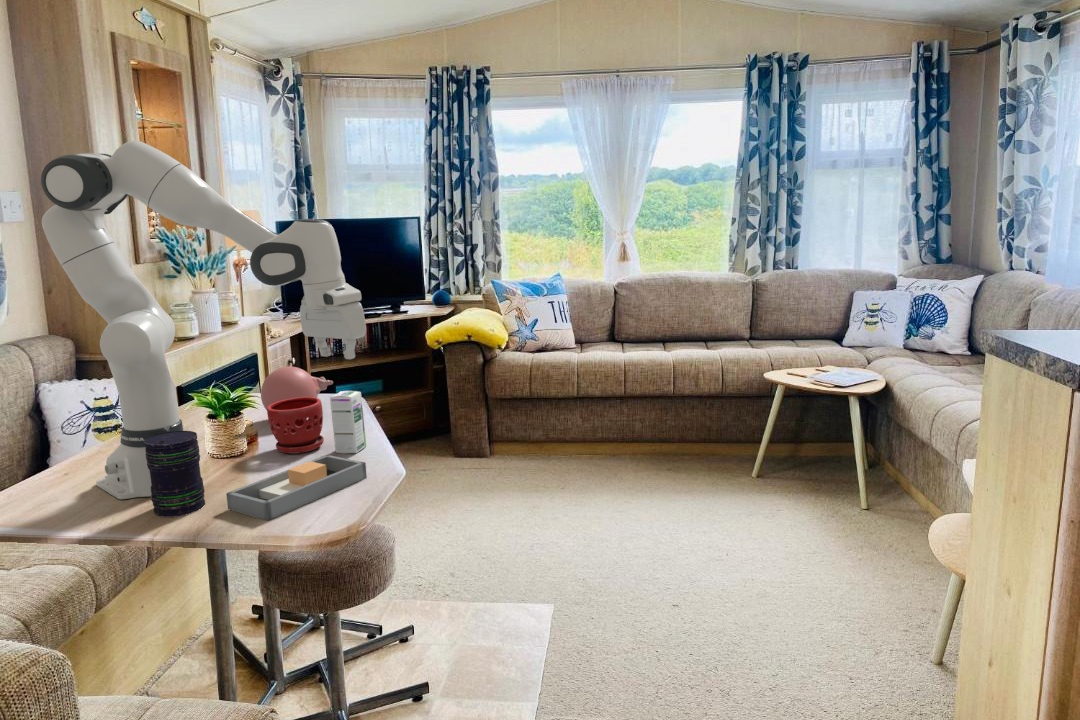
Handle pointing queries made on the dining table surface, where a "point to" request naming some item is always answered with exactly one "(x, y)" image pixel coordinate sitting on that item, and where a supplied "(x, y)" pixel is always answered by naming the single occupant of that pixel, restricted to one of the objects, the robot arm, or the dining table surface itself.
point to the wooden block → (307, 473)
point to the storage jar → (175, 473)
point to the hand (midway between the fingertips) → (338, 357)
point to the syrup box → (348, 422)
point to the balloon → (291, 385)
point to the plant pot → (296, 424)
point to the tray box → (294, 489)
